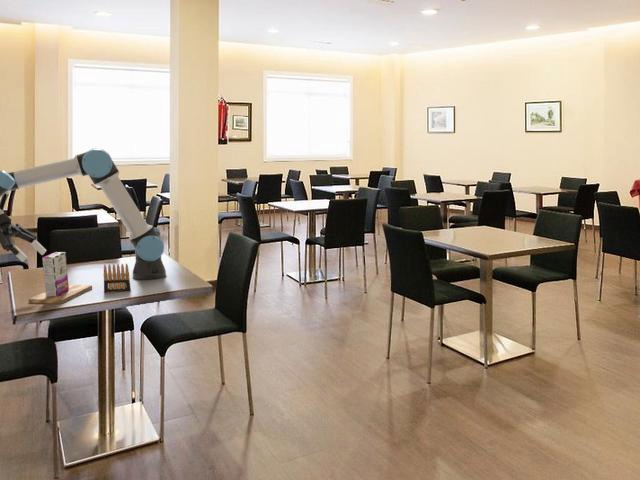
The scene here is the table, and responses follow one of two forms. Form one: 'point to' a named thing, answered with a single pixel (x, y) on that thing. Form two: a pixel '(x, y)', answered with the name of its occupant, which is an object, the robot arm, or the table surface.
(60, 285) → the candy bar box
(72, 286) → the oak board
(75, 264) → the table surface
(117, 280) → the ammunition clip
